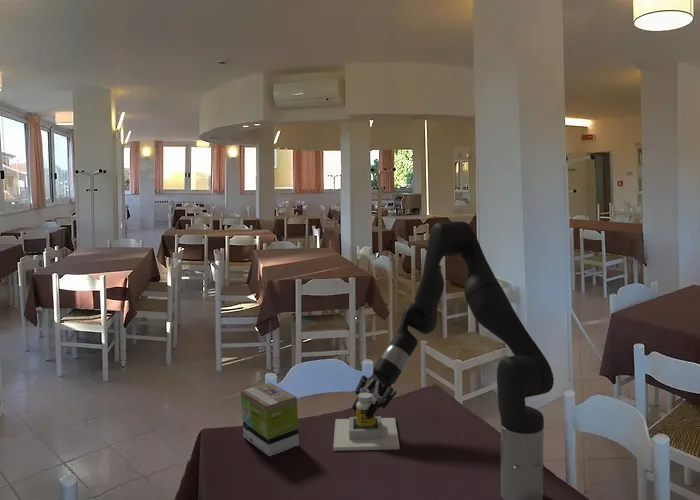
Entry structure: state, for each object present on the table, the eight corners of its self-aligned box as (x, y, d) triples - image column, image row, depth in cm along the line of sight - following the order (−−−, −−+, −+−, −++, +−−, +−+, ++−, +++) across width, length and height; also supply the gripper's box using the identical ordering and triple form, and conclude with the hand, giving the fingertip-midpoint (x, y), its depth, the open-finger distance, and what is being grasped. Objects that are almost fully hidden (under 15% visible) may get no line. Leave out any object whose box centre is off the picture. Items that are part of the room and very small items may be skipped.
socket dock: (399, 449, 152) (399, 437, 152) (333, 450, 152) (333, 438, 152) (394, 420, 170) (394, 409, 170) (335, 422, 170) (335, 411, 170)
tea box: (242, 438, 161) (239, 389, 159) (272, 428, 168) (270, 381, 166) (269, 458, 150) (266, 405, 148) (300, 446, 156) (298, 395, 154)
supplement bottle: (360, 433, 158) (358, 399, 156) (354, 425, 163) (353, 393, 162) (378, 430, 159) (377, 397, 158) (372, 422, 164) (371, 390, 163)
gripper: (368, 351, 169) (338, 400, 163) (400, 363, 157) (368, 415, 152) (382, 364, 172) (353, 412, 167) (415, 376, 161) (384, 428, 155)
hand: (360, 413), depth 159 cm, fingers closed on supplement bottle, 5 cm apart
